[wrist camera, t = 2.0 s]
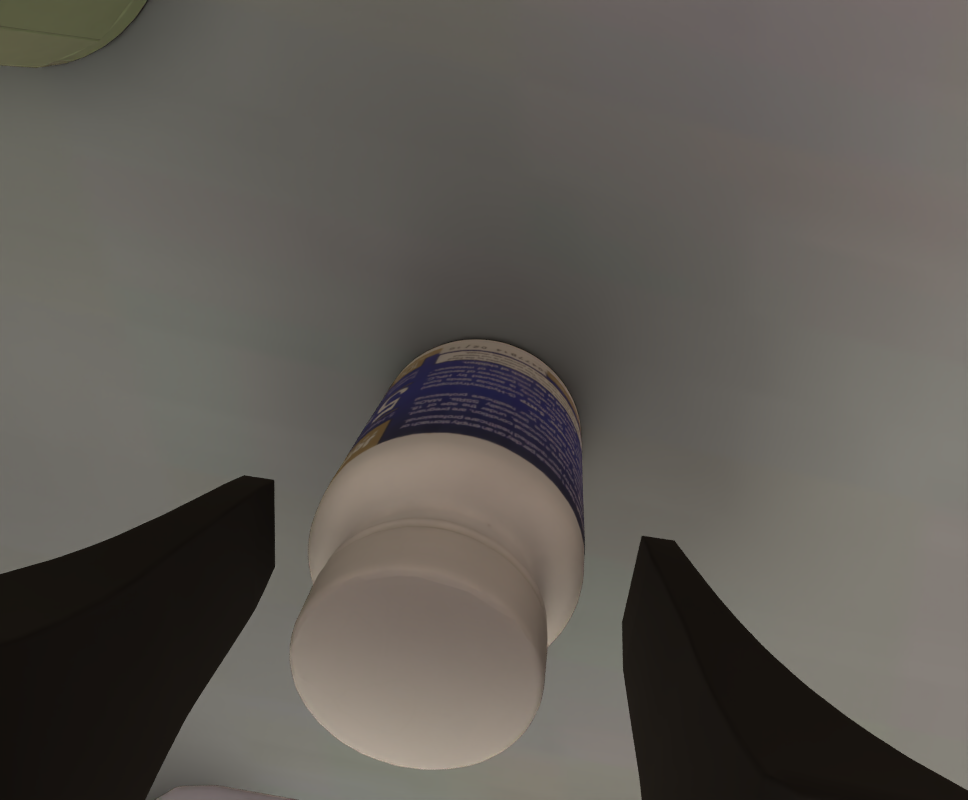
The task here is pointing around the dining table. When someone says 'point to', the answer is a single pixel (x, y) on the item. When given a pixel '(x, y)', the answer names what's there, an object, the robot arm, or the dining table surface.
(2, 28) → the mug
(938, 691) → the dining table surface
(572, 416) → the pill bottle
